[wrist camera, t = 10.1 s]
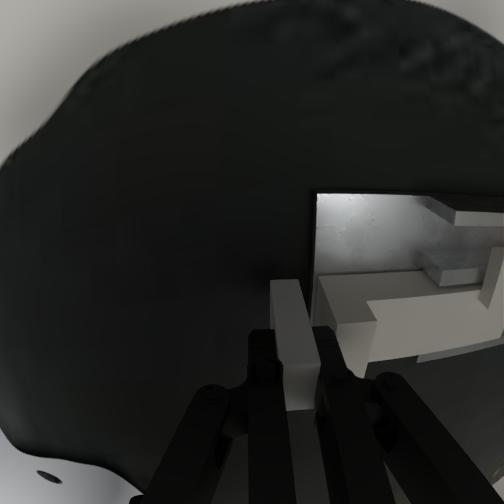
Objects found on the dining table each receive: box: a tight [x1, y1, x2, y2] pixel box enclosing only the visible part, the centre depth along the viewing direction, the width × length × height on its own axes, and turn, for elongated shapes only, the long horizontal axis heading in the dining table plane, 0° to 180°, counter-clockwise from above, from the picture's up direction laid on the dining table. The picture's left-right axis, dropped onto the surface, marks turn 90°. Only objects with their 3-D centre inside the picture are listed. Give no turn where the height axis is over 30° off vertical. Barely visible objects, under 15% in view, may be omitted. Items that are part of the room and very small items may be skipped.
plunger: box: [314, 247, 504, 378], centre depth 17 cm, size 14×7×5 cm, turn 92°
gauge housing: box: [308, 190, 504, 363], centre depth 17 cm, size 26×11×7 cm, turn 92°
